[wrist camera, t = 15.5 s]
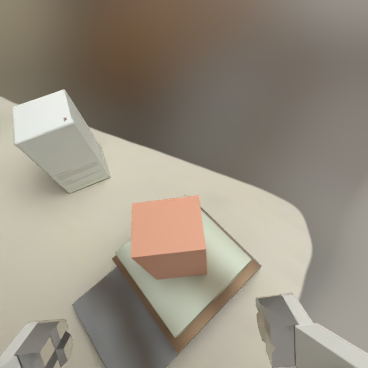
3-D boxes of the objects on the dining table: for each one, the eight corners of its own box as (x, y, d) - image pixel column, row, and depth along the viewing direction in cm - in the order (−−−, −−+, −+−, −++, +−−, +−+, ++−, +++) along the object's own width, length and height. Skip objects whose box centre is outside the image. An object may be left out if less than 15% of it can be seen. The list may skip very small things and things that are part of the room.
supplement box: (102, 146, 43) (66, 87, 32) (111, 178, 39) (74, 122, 29) (62, 161, 42) (11, 105, 31) (67, 195, 39) (12, 144, 28)
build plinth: (131, 403, 25) (103, 430, 18) (77, 305, 30) (41, 300, 23) (259, 268, 30) (273, 253, 24) (195, 205, 35) (192, 179, 29)
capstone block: (207, 274, 23) (206, 249, 16) (156, 279, 23) (130, 257, 16) (202, 234, 25) (198, 195, 18) (155, 240, 26) (132, 203, 18)
